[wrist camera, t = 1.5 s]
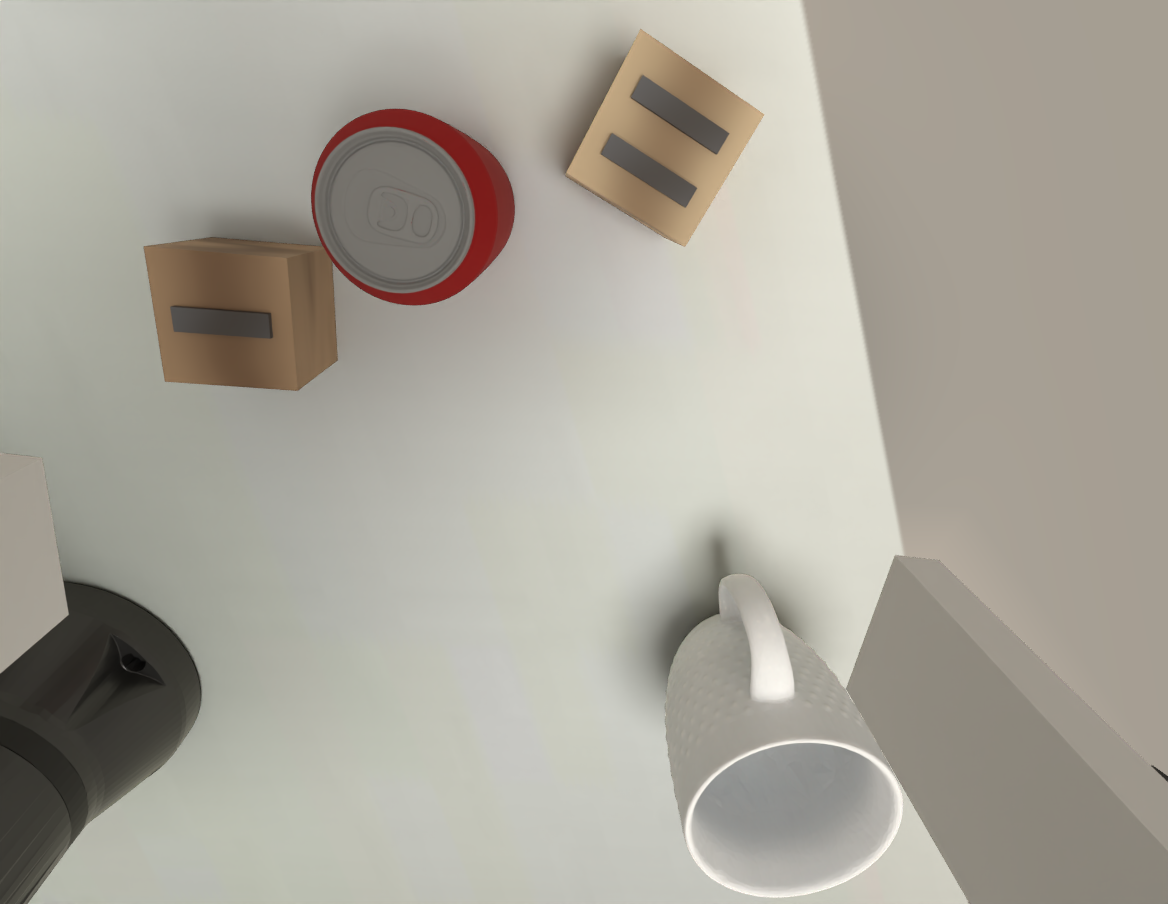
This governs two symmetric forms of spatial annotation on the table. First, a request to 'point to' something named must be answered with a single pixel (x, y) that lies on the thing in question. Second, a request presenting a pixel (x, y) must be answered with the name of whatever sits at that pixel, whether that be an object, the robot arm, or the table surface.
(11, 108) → the table surface
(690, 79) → the wooden equals sign cube
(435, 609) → the table surface
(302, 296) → the wooden minus sign cube
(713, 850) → the mug
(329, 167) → the beverage can
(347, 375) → the table surface
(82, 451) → the table surface
